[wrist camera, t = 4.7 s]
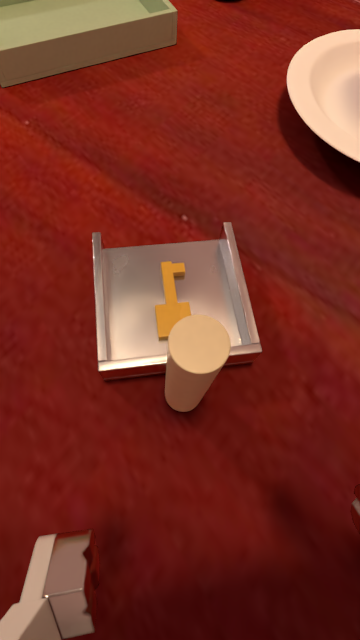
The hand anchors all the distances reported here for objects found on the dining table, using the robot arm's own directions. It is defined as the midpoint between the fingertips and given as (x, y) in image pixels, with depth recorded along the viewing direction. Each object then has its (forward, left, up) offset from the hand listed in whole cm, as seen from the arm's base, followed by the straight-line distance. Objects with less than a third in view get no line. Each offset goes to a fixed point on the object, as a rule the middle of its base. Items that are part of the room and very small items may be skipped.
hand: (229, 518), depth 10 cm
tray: (+10, +46, -10) cm, 48 cm away
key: (+4, +11, -10) cm, 16 cm away
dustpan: (+4, +10, -10) cm, 15 cm away
